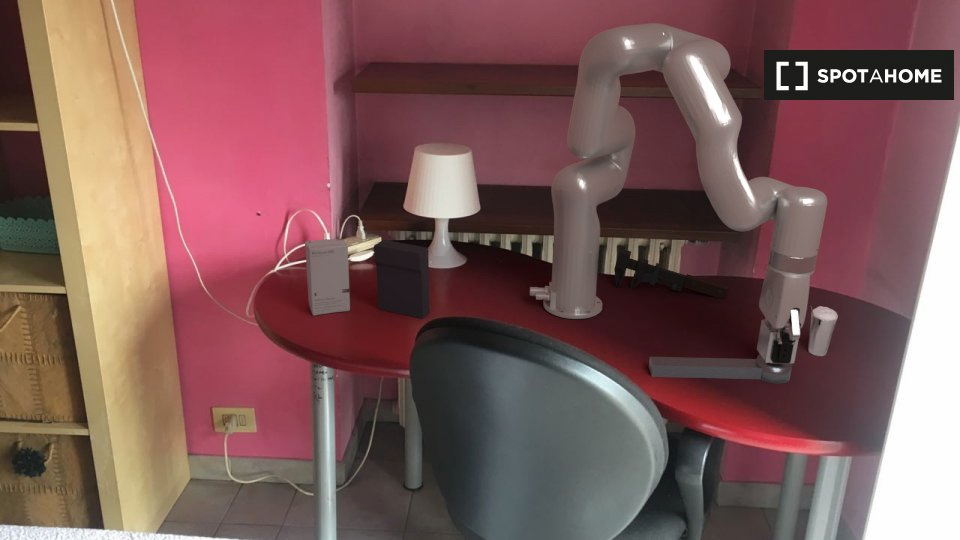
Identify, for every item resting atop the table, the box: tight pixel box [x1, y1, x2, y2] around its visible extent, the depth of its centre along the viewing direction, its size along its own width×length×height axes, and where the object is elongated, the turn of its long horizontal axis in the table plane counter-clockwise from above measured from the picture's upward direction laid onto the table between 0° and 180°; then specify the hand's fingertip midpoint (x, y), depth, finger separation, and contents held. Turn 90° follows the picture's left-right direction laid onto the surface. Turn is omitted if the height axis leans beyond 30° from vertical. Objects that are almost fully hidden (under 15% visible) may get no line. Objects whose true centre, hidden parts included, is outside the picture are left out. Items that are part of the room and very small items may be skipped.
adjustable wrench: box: [613, 248, 729, 300], centre depth 171 cm, size 8×3×25 cm
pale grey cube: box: [756, 319, 800, 364], centre depth 135 cm, size 5×5×6 cm
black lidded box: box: [373, 239, 431, 320], centre depth 158 cm, size 11×4×15 cm, turn 65°
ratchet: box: [648, 354, 793, 385], centre depth 137 cm, size 25×6×6 cm, turn 88°
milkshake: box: [807, 304, 839, 357], centre depth 144 cm, size 4×5×10 cm
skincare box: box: [304, 238, 351, 317], centre depth 159 cm, size 8×6×15 cm
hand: (775, 353), depth 136 cm, fingers closed on pale grey cube, 5 cm apart
